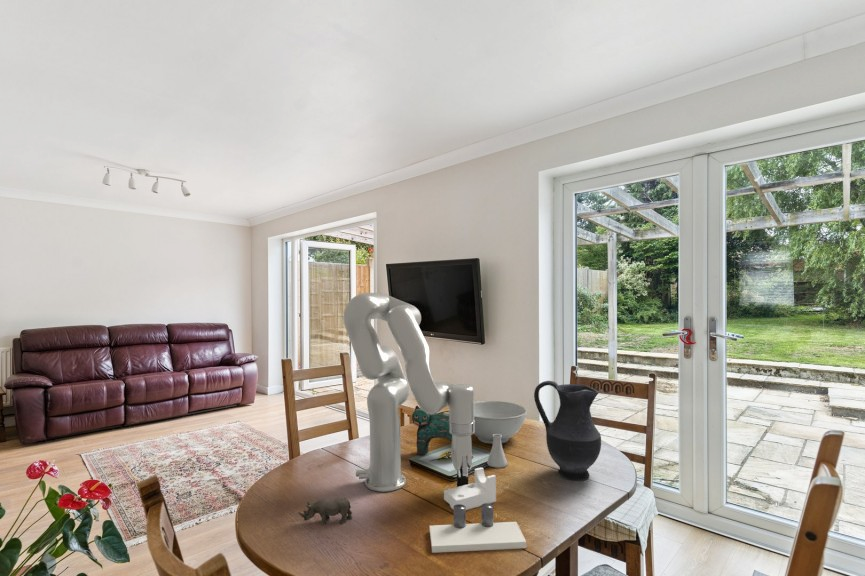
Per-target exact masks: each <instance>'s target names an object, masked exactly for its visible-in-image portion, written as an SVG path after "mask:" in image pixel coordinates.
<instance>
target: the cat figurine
mask: <svg viewBox="0 0 865 576" xmlns="http://www.w3.org/2000/svg"><path fill="white" fill-rule="evenodd" d="M411 420H412V423H413V424H414V425H416V426H417V431H416V442H415V443H416V455H417V456H426V455H427V454H428V453H429V446H430V445H429V444H430V442H431V440H432V439H437V438H438V439H446V440H448V441H450V442H451V443H452V434H450V432H449V410H445V411H439V412H437V413H434V414H429V413H426V412H425V411H423V410H422V409H421V408H420V406H419V405H416V406H415V408H414V411H413V412H412V414H411Z"/></svg>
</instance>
